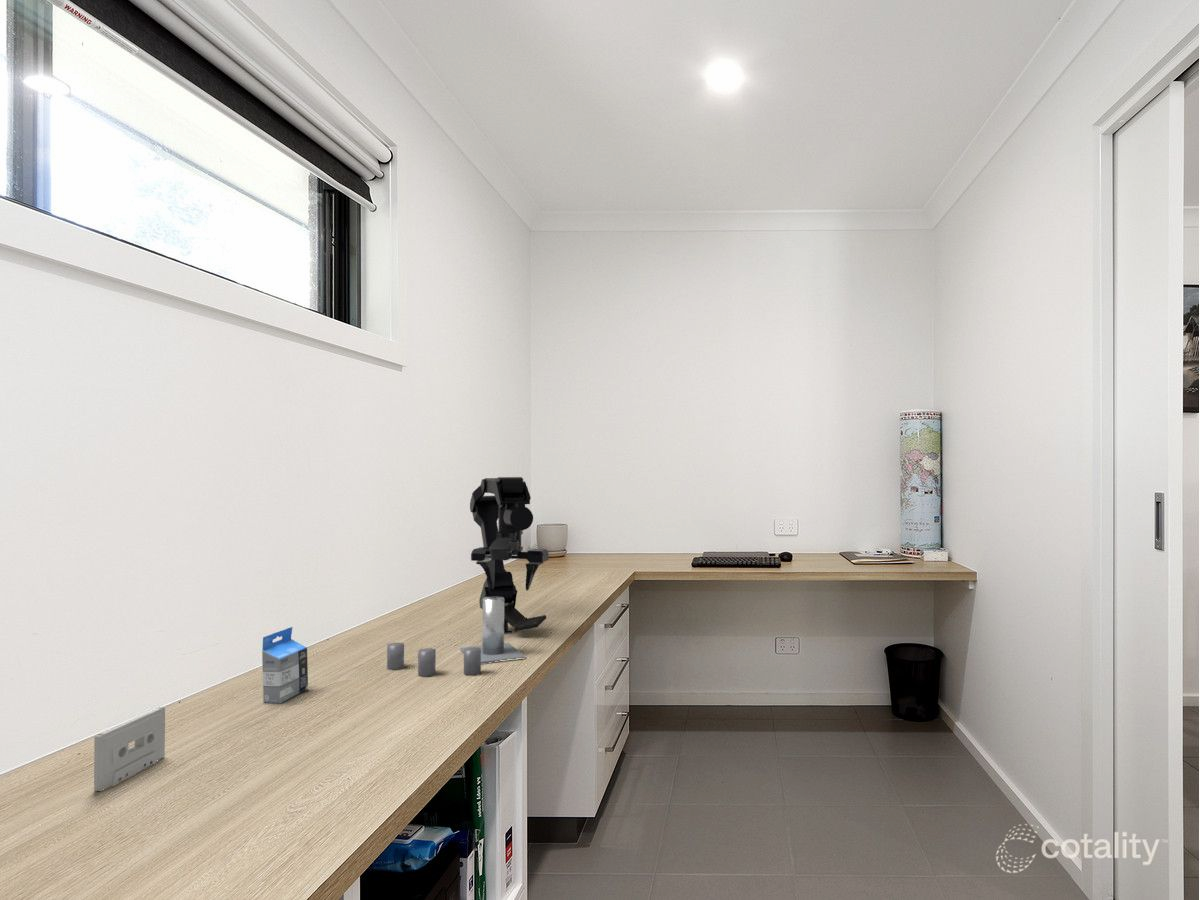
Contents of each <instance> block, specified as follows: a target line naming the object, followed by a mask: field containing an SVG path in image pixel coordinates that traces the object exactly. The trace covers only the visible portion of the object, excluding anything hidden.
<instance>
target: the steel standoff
mask: <svg viewBox="0 0 1200 900" xmlns="http://www.w3.org/2000/svg"><path fill="white" fill-rule="evenodd" d="M481 641H482V642H481V643H482V645H481V646H482V653H483V654H486V655H498V654H502V653H504V643H505V633H504V597H499V596H491V597H485V598H483V609H482V640H481Z"/></svg>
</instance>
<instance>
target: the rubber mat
mask: <svg viewBox="0 0 1200 900" xmlns="http://www.w3.org/2000/svg"><path fill="white" fill-rule="evenodd" d="M471 647H477V648H480V649H481V665H483V664H482V663H487V664H490V663H489V662H495V661H500V660H507V659H516V658H525V657H526V656H525V655H524V654H522V652H520V651H519V650H518V649H517V648H515V647H514V646H513V645H512V644H511V643H510V642H506V643H505V642H504V653H502V654H498V655H486V654H483V653H482V645H474V646H473V645H472V646H464V647H459V650H460V652H461V653H462V654H463V655H464V649H466V648H471Z"/></svg>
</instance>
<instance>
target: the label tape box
mask: <svg viewBox="0 0 1200 900" xmlns="http://www.w3.org/2000/svg"><path fill="white" fill-rule="evenodd" d="M292 634H293V626H290V627H287V628H285V629H283V630H279V631H276V632H274V633H271V634H268V635H265V636H263V637H262V646H261V647H262V649H261V651H262V652H261V653H262V657H261V659H262V663H261V664H262V666H261V667H262V691H263V692H262V695H263V697H262V699H263V700H262V701H263V702H262V703H264V702H266V704H282V703H283V702H287V701H289V699H291V698H294V697H295V696H297V695H299V694H301V693H302V692H305V691H306V690H308V689H309V675H308V674H309V673H308V671H309V670H308V667H309V666H308V665H309V664H308V647H306V646H305V645H303V644H301V643H299V642H297V641H296V640H293V639H292ZM277 637H278V638H281V639H279V640H276V641H274V640H275V639H277ZM273 641H274V642H273ZM304 690H305V691H304ZM268 702H270V703H268Z"/></svg>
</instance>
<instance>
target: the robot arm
mask: <svg viewBox="0 0 1200 900" xmlns="http://www.w3.org/2000/svg"><path fill="white" fill-rule="evenodd" d="M526 483H527V482H526V481H525V480H524V478H523V477H522V476H502V477H501V476H498V477H494V478H493V477H489V478H488V477H486V478H483V479H481V482H480V485H479V486H478V487H477V488H476V489H474V491H473V492H472V493H471V498H470V502H469V509H470V510H469V511H470V512H471V513H472V518H473V521H474V522H475V523H476V524H477V525H478V526H479V527H480V531H481V533H480V534H481V539H482V545H483V546H482V547H476V548H474V549H472V550H471V553H470V561H473V562H475V564H476V565H479V566H480V567H481V568H482V569H483V571H484V573H485V576H486V577H485V580H484V583H483V585H482V586H483V587H482V588H481V589H482V590H481V592H480V596H479V599H478V600H479V608H480V609H481V610H483V598H485V597H491V596H499V597H504V609H505V610H506V608H507V609H508V608H515V609H516V604H517V595H518V589H517V587H516V585H515V583H514V579H513V574H512V572H511V571H507V570H506V569H505V566H504V565H505V563H504V561H508V560H510V559H512V560H514V559H515V560H516V559H518V560H527V561H528V562H527V563H525V568H526V576H525V591H529V590H530V587H531V585H532V583H533V580H534V576H535V574H536V573H537V570H538V568H539V567H540V565H543V564H544V563H545V562H548V561H549V551H548V550H547V549H546V548H531V549H529V550H527V551H524V547H523V546H522V535H523V534H524V531H525V530H527V529H529V528H530V527H531V525H532V524H533V522H534V515H533V513H532V511H531V509H530V508H528V507H526V505H530V504H531V499H532V498H531V497H532V496H531V494H530V491H529V489H528V485H527V484H526ZM485 494H492V495H485ZM508 632H509V633H512V632H513V630H512V629H511V628H509V623H508V622H507V621H506V620H505V619H504V634H507V633H508Z"/></svg>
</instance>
